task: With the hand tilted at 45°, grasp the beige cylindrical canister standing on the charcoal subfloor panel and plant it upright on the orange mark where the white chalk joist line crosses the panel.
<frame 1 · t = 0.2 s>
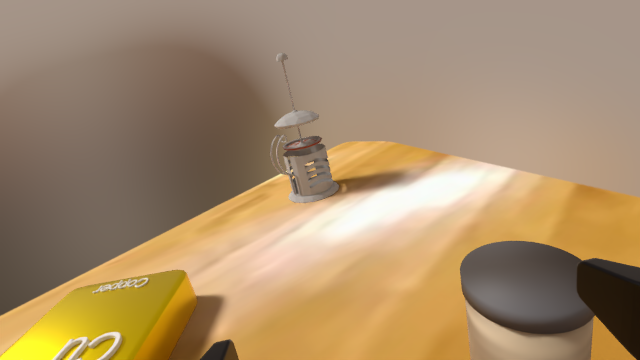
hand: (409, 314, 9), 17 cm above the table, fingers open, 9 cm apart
element tile: (109, 357, 35), on the table
french press: (310, 194, 64), on the table
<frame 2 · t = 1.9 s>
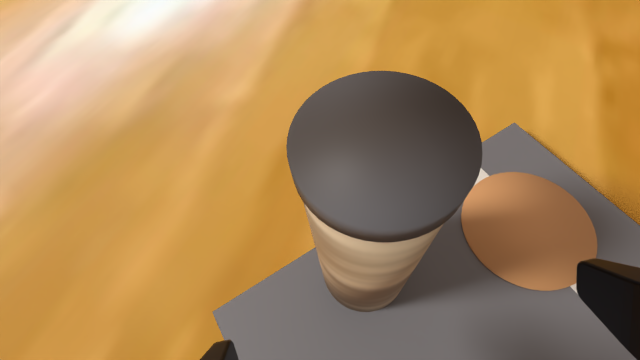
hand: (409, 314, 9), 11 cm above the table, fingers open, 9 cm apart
subfloor panel: (490, 359, 17), on the table
beige cylindrical canister: (363, 269, 19), point 1 cm above the table, touching subfloor panel
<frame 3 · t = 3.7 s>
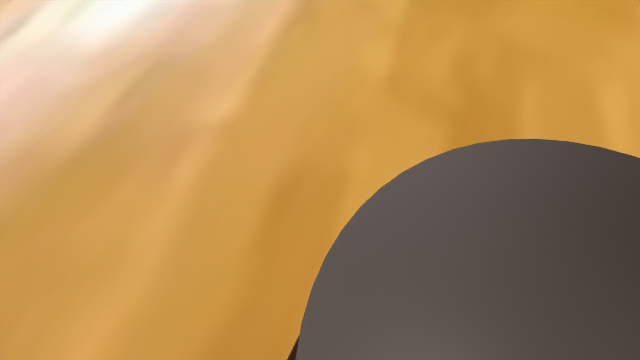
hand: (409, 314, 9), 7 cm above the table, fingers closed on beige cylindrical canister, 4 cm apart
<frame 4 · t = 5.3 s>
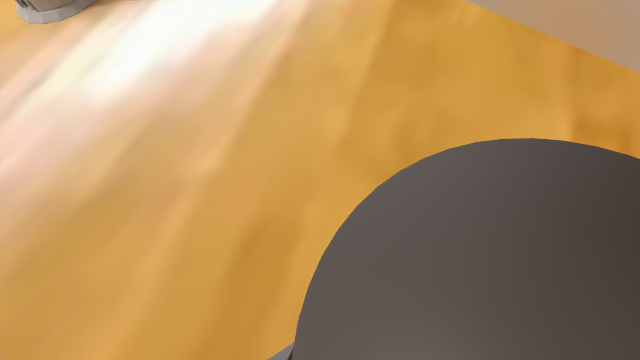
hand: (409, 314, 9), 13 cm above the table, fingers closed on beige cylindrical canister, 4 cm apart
french press: (55, 2, 40), on the table
when the fingers open (8 cm above the table, at t = 7.3 s): beige cylindrical canister drops 1 cm, resting on subfloor panel.
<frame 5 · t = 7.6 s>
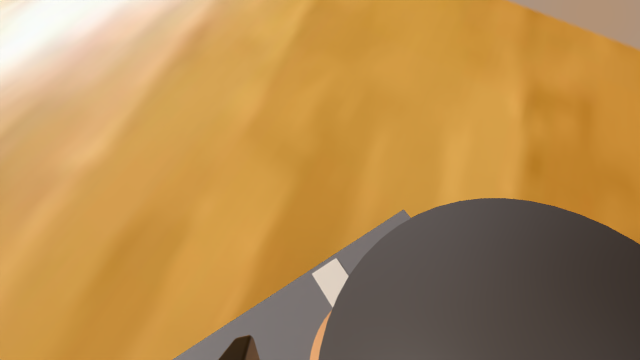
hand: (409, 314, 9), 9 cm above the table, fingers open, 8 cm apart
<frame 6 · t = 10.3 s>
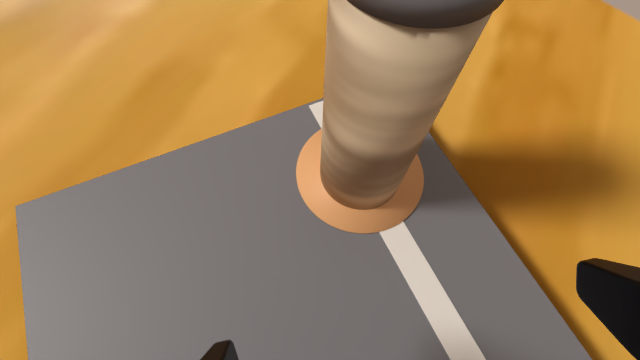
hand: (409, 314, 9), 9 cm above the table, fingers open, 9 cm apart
subfloor panel: (288, 292, 17), on the table
beige cylindrical canister: (360, 172, 19), point 2 cm above the table, touching subfloor panel
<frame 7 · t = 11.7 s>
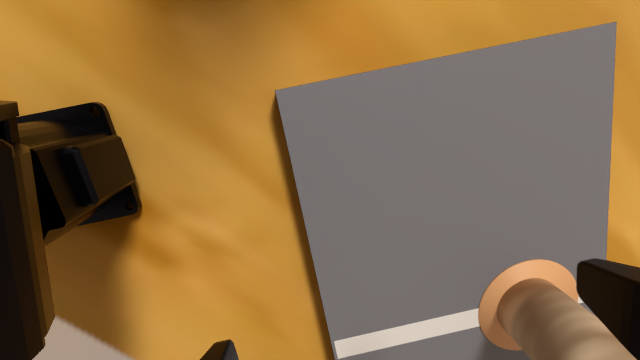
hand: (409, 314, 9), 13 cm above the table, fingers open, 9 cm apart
subfloor panel: (453, 229, 23), on the table
beige cylindrical canister: (528, 306, 23), point 2 cm above the table, touching subfloor panel
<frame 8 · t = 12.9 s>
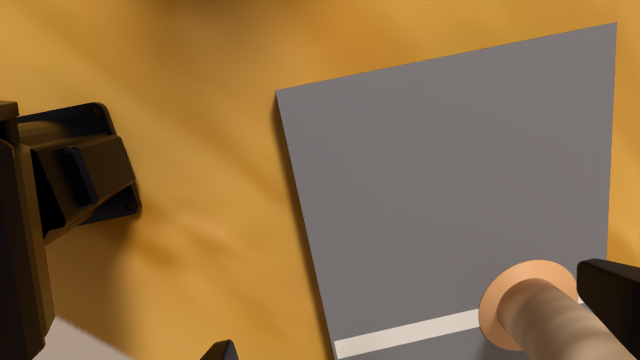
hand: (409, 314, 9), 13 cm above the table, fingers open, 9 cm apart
subfloor panel: (453, 229, 23), on the table
beige cylindrical canister: (528, 307, 23), point 2 cm above the table, touching subfloor panel
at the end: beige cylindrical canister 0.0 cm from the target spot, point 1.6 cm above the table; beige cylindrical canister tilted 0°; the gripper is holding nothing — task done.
